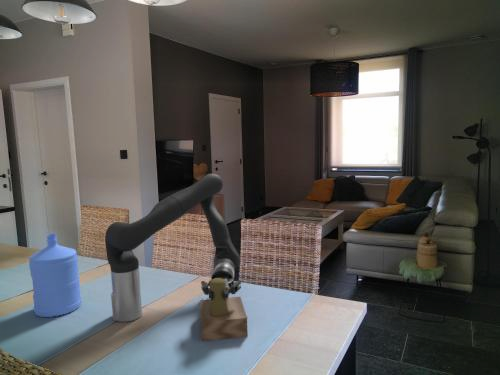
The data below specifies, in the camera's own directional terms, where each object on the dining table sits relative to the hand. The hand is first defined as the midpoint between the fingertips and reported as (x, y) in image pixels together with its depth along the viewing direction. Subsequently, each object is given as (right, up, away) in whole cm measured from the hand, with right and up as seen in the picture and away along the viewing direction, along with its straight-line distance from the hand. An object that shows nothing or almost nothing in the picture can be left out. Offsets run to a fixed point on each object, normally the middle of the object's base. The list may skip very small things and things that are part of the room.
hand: (218, 296), depth 113 cm
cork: (0, -6, +4) cm, 7 cm away
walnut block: (+1, -12, +7) cm, 14 cm away
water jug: (-61, -12, +24) cm, 67 cm away
